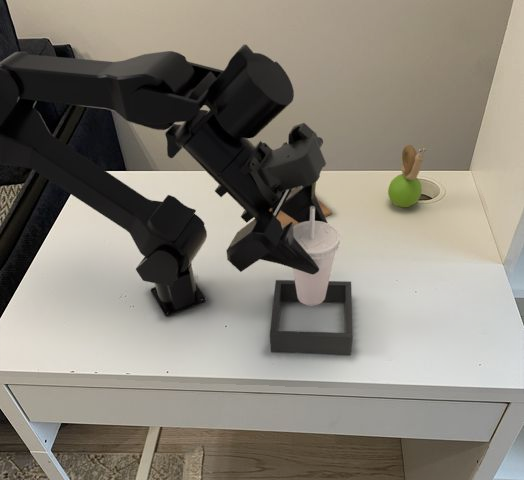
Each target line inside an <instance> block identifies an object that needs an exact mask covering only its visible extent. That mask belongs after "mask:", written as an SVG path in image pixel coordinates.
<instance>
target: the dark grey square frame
mask: <svg viewBox="0 0 524 480" xmlns="http://www.w3.org/2000/svg"><path fill="white" fill-rule="evenodd" d="M352 298H353V295H352V281H348V280H347V281H345V280H343V281H342V280H329V283H328V287H327V292H326V296H325V299H324V301H323V302H322V303H321V304H328V303H329V304H330V303H331V304H343V327H344V329H343V330H344V331H343V332H333V331H332V332H331V331H330V332H329V331H300V330H280V321H281V311H282V302H283V303H285V302H286V303H301V302H300V301H299V300H298V297H297V291H296V285H295V279H294V280H293V279H290V280H289V279H275V284H274V291H273V300H272V301H273V302H272V310H271V319H270V327H269V346H270V347H269V348H270V353H275V354H276V353H277V354H279V353H280V354H307V355H308V354H310V355H334V356H335V355H336V356H339V355H340V356H351V354H352V348H353V347H352V345H353V336H354V335H353V301H352Z"/></svg>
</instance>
